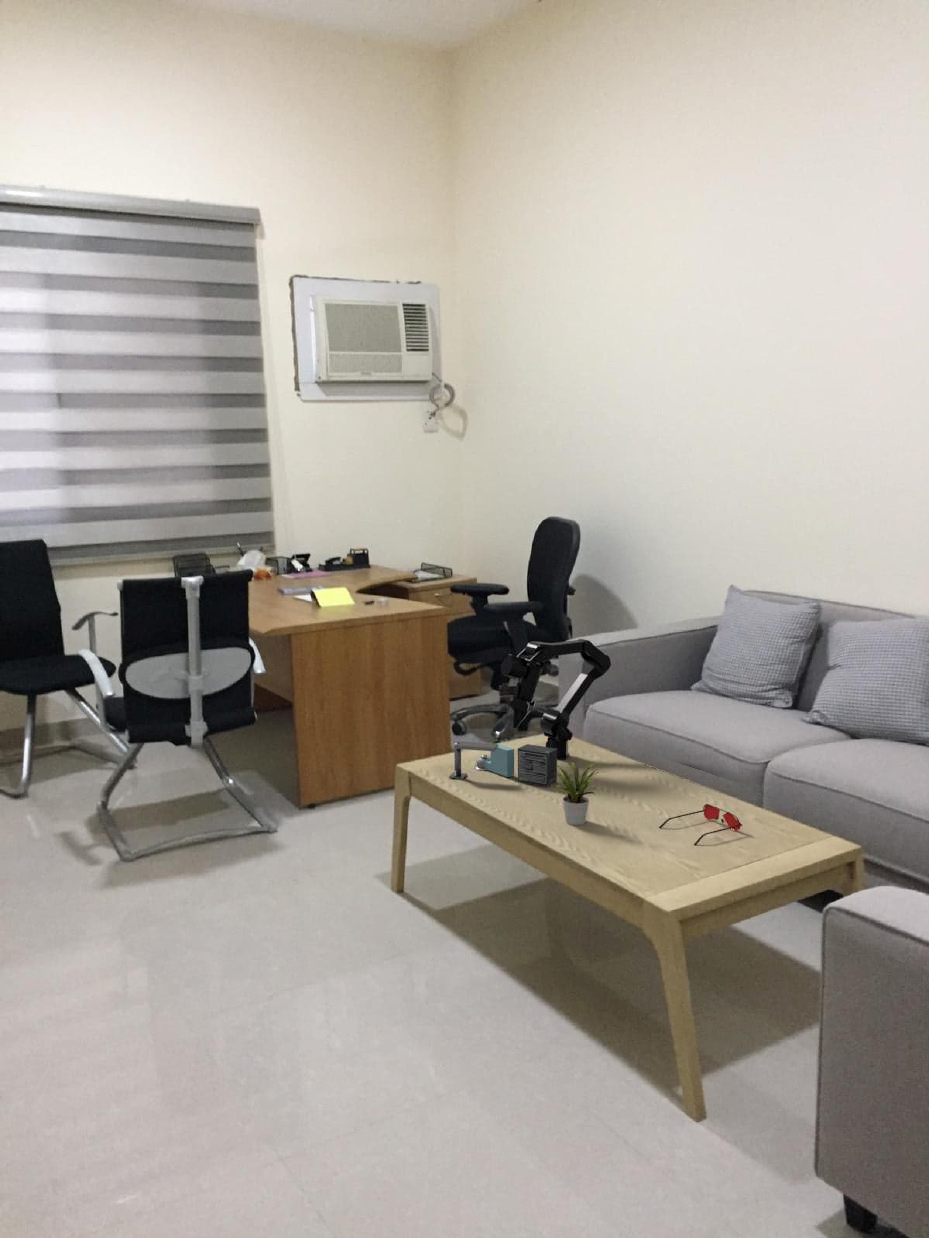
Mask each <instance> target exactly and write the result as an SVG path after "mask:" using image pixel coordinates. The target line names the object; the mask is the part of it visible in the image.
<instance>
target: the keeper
mask: <svg viewBox="0 0 929 1238" xmlns="http://www.w3.org/2000/svg"><path fill="white" fill-rule="evenodd" d="M498 744H499V743H498ZM498 744H497V743H491V742H489V743H488V742H477V741H476V742H475V741H463V740H459V741H458V742H454V745H453V746H454V772H452V773H451V774H450V775H449V776H448V779H449V778H456V779H455V780H461V779H463V780H464V779H465V778H466V777H467V776H468V773H466V772H462V750H470V751H481V752H482V751H483V752H491V751H495V750H496V749H497V748H498ZM466 775H467V776H466ZM464 777H465V778H464Z"/></svg>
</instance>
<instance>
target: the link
mask: <svg viewBox="0 0 929 1238" xmlns="http://www.w3.org/2000/svg"><path fill="white" fill-rule="evenodd" d="M496 744H498V748H497V749H496V750H495V751H490V756H488V755H487V759H482V758H481V756H478V757H476V765H477V767H478V768H485V769H487V770H488V771H490V772H492V773H495V774H497V775H501V776H504V777H506V778H508V777H509V778H510V777H512V776H515V748H513V747H510V746H508V745H503V744H501V743H498V742H497V743H496Z"/></svg>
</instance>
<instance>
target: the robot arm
mask: <svg viewBox="0 0 929 1238" xmlns="http://www.w3.org/2000/svg"><path fill="white" fill-rule="evenodd" d="M573 654H579V655H580V657H581V658H582V660H583V662H582V664H581V666H582V667H581V672H580V674H579V675H578V677H577V678H576V680H574V682H573V684H572V685H571V686H570V688H569V689H568V691H567V692H566V693H565V695H564V696H563V697H562V698H561V701H560V702H559V703H558V704H557V706H555V707H554V708H552V707H548V708H547V709H546V710H545V712H544V713H543V715H541V719H540V722H539V724H540V729H541V731H542V732H543V736H544V737H547V741H546V742H545V747H549V748H556V749H557V760H567V758H568V756H570V753H569V741H572V738H573V735H574V734H573V732H572V731H571V730H570V729H569V724H570V717H571V714H572V712H573V711H574V710H575V708H576V707H577V705H578V704H579V703H580V702H581V700H582V699H583V697H584V696H585V694H586V693H587V691H588V690H589V688H590V687H591V686H592V685H593V683H594V682H595V681H596V680H598V679H600V678H601V677H603V676H604V675H605V674H606V673H607V672H608V671H609V670H610V667H611V666H612V661H611V658H610V656H609V655H607V654H605V653H604V652H603V651H602V650H600V649H599V648H598V647H597V646H596V645H594V643H592V642H591V641H590V640H589V639H584V638H579V639H575V640H566V641H560V642H558V641H557V642H552V643H551V642H542V641H533V640H532V641H529V642H528V643H527V645H526V646H525V648H524V649H523V650H522V651H521V652H520V653H519V654H517V655H514V654H510V653H508V654H507V657H505V659H504V660H503V661H502V662H501V665H500V672H501V674H502V675H503V676H505V677H506V676H507V677H510V678H514V679H517V680H518V679H519V681H517V683H516V684H513V685H511V684H509V683H502V684H501V685H499V686H498V695H499V697H505V696H512V697H511V698H510V699H509V701H508V704H507V706H508V707H511V709H512V710H513V721H512V722H513V723H512V728H513V729H518V727H519V726H520V724H521V723H522V722H523V721H524V720H525V719H526V717H527V716H528V714H529V713H530V712H531V711H532V709H531V708H535V705H536V703H537V700H536V699H535V694H536V692H537V690H538V684H539V681H540V679H541V674H542V671H545V672H548V671H549V669H548V667H547V665H546V662H548V661H549V660H552V659H554V657H558V656H566V655H573ZM530 707H531V708H530Z"/></svg>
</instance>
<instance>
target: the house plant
mask: <svg viewBox="0 0 929 1238" xmlns="http://www.w3.org/2000/svg"><path fill="white" fill-rule="evenodd" d="M596 764H597V762H595V763H591V764H589V765H588V766H587V767H586V768H585V769H584V771H583V772H582V775H581V778H580V775H579V768H578V767H577V765H576V764H575V762H574V761H571V764H568V766H569V767H570V768H571V770H572V773H573V776H574V779H573V777H571V778H570V776H569V775H568V773H567V772H566V771H565V770H564V769H563V768H562V767H561V766H559V765H558V764H557V765H556V766H557V769H559V770H560V775H559V774H558V773H557V776H559V777H560V779H561V782H560V784H562V785H564V786H562V785H560V784H559V785H558V784H557V785H556V784H555V786H556V787H558V788H560V789H561V790H563V791H565V792H567V794H566V793H565V792H563V791H561V790H558V791H557V792H555V793H558V794H559V793H560V794H564V795H565V796H563V797H562V806H563V811H564V812H563V813H564V819H565V823H566V824H567V825H568V824H569V825H571V826H572V825H573V826H582V825H584V824H585V823H586V820H587V815H588V808H589V803H590V799H589V797H587V796H585V795H587V794H588V795H589V794H590V795H591V794H592V795H595V796H597V794H596V793H595V792H593V790H595V791H598V789H597V788H596V787H590V788H588V786H589V785H590V783H591V782H592V781H594V780H595V779H594V778H593V777H594V776H595V775H598V774H599V773H600V774H601V773H604V771H598V769H597V770H593V771H592V772H591V773H589V771H591V768H592V767H593V766H594V765H596ZM588 773H589V774H588ZM554 774H555V773H554ZM591 778H593V779H591ZM590 790H592V791H590Z"/></svg>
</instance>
